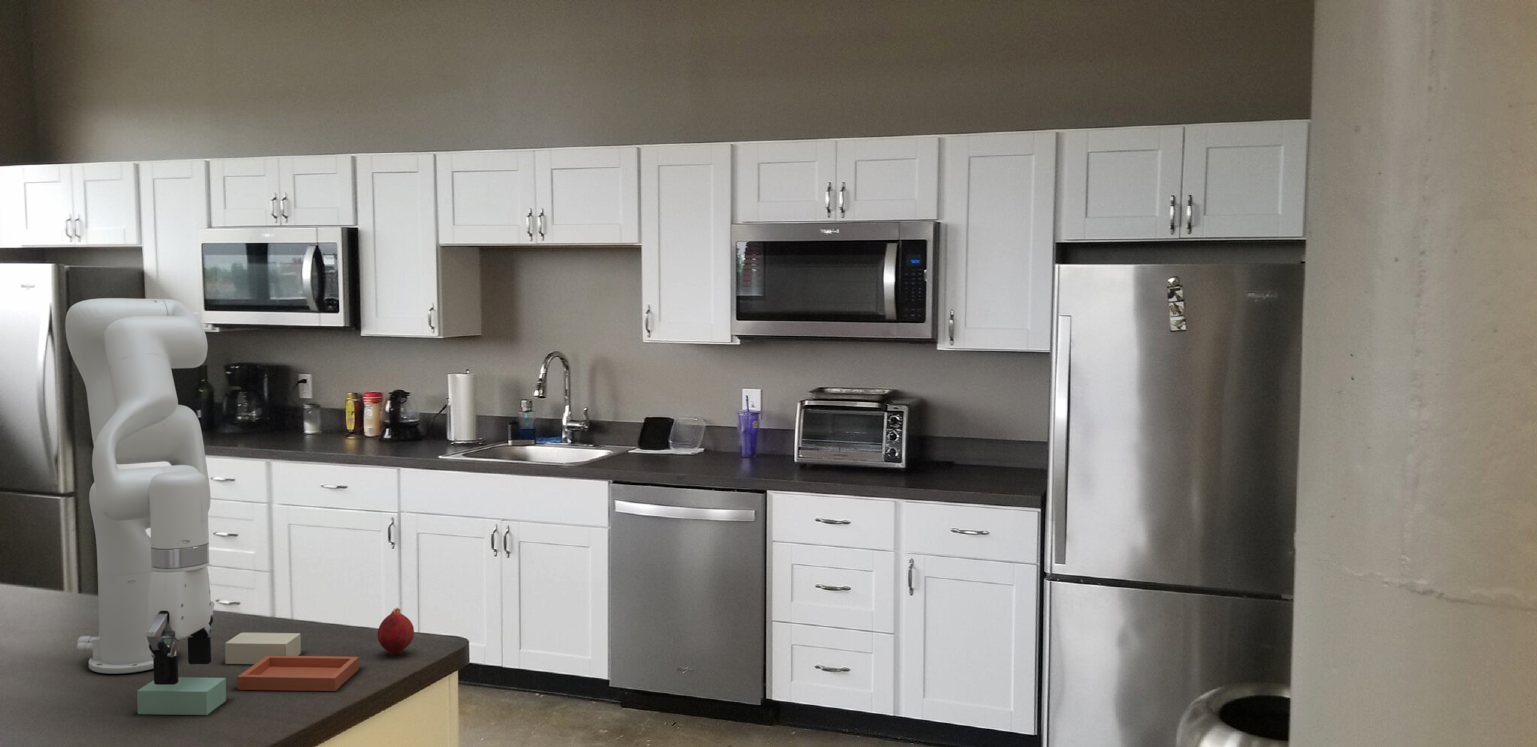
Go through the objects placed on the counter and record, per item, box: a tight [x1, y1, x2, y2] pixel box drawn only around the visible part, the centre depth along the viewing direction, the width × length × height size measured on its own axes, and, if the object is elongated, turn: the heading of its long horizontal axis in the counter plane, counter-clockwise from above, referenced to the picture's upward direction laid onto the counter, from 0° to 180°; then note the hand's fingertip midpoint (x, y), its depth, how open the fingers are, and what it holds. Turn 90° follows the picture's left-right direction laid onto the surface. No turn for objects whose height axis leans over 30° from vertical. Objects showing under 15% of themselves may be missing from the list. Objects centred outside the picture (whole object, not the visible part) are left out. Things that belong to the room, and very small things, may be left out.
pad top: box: [224, 632, 302, 665], centre depth 192 cm, size 10×6×4 cm, turn 90°
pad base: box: [136, 676, 227, 716], centre depth 170 cm, size 10×6×4 cm, turn 90°
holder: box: [236, 655, 360, 692], centre depth 183 cm, size 15×10×2 cm
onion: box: [376, 607, 415, 656], centre depth 195 cm, size 6×6×8 cm
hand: (183, 673), depth 169 cm, fingers open, 9 cm apart
